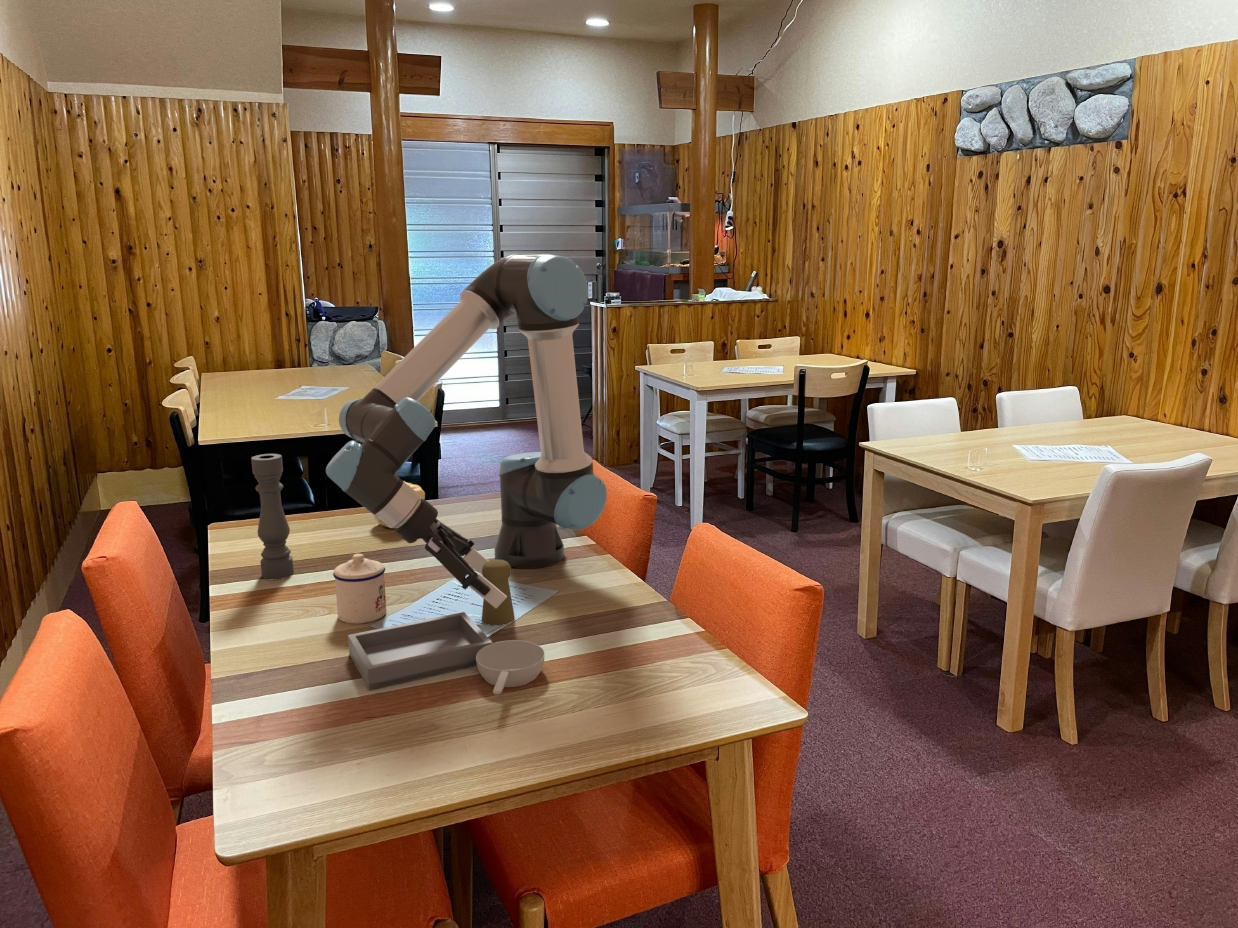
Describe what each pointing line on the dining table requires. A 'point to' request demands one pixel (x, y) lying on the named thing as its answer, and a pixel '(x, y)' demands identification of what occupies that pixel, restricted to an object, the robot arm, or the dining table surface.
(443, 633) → the tray
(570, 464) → the robot arm
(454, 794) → the dining table surface
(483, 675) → the saucepan
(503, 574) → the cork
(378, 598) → the teacup with lid
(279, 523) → the candle holder
